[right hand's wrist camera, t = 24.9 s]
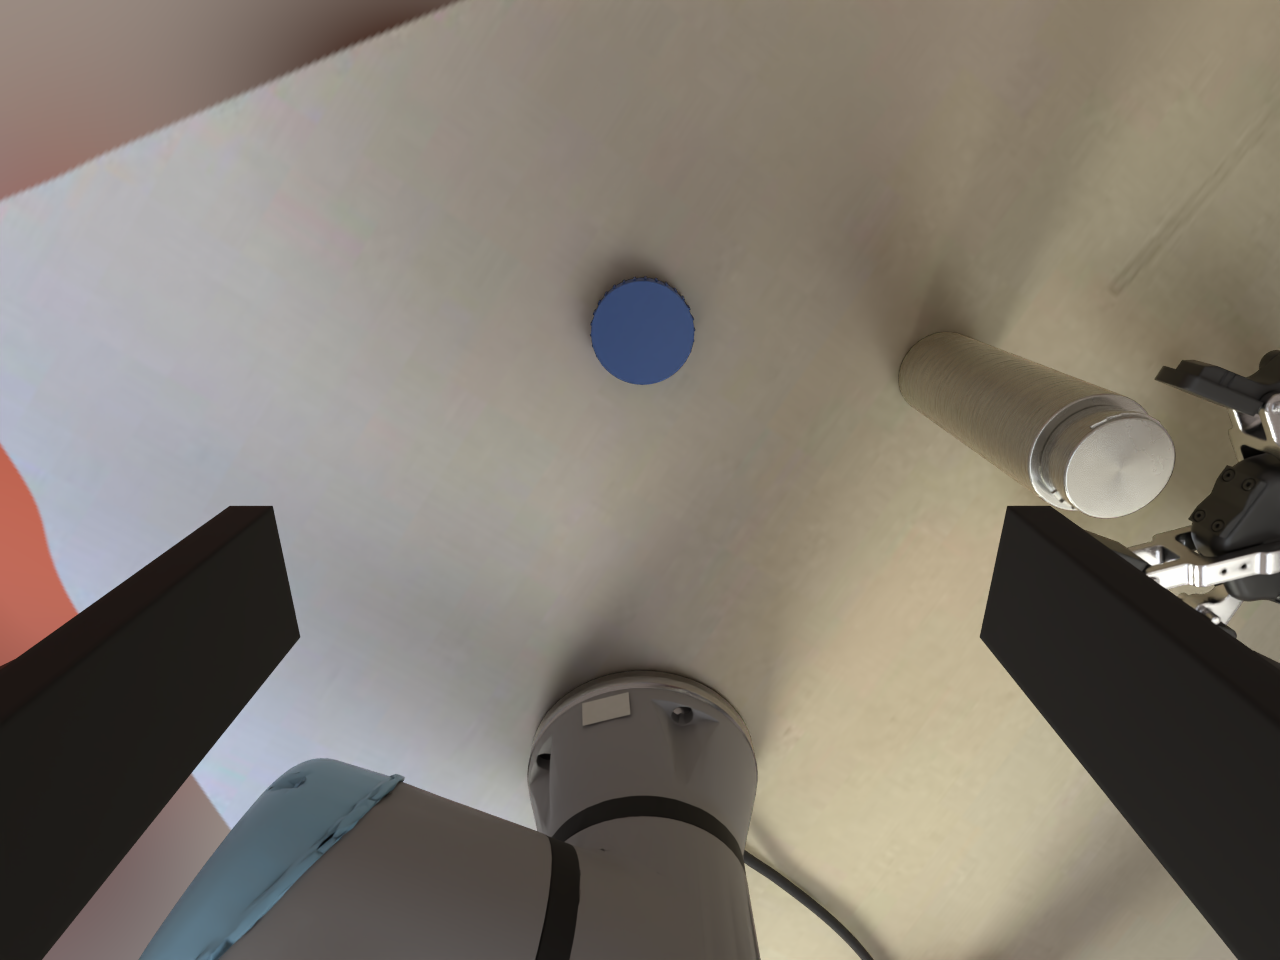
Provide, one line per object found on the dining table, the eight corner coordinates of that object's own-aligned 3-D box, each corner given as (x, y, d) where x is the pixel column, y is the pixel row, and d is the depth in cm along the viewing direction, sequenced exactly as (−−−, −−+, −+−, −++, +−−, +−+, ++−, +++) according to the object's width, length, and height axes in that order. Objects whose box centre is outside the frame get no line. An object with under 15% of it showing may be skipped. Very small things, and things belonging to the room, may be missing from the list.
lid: (581, 364, 37) (579, 371, 36) (605, 263, 36) (604, 266, 34) (676, 389, 38) (678, 397, 36) (705, 291, 36) (708, 295, 34)
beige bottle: (994, 385, 38) (1205, 488, 24) (918, 428, 39) (1078, 551, 25) (962, 315, 37) (1165, 379, 22) (884, 360, 37) (1032, 450, 23)
